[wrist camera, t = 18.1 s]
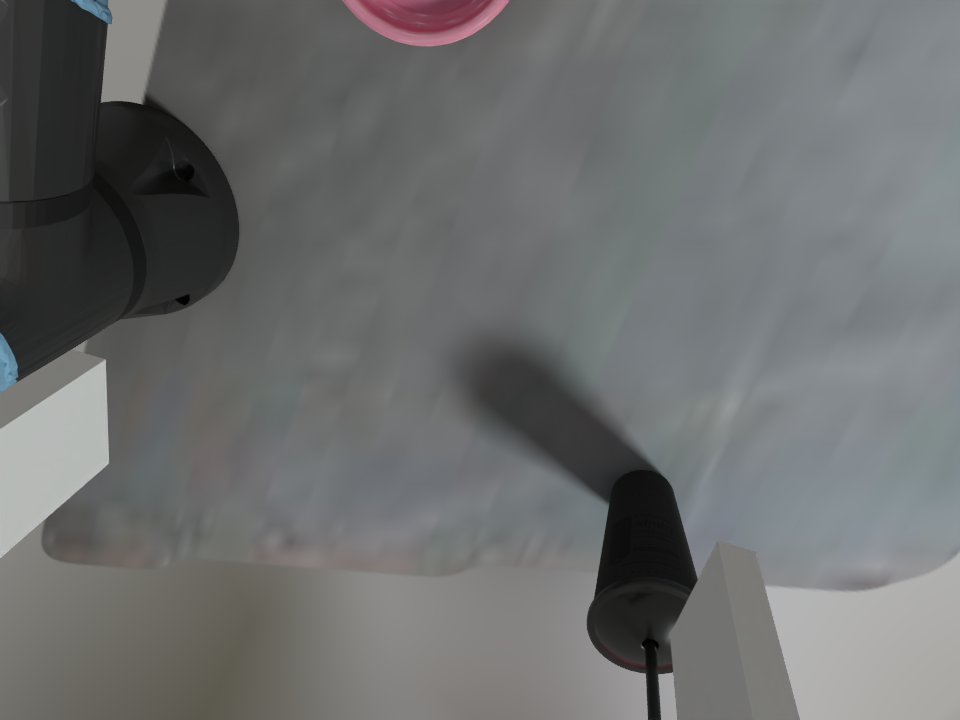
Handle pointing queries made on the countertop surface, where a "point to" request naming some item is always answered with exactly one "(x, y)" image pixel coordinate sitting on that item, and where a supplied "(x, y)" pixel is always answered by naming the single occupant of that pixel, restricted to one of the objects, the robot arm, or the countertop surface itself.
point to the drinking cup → (641, 579)
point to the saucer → (426, 18)
